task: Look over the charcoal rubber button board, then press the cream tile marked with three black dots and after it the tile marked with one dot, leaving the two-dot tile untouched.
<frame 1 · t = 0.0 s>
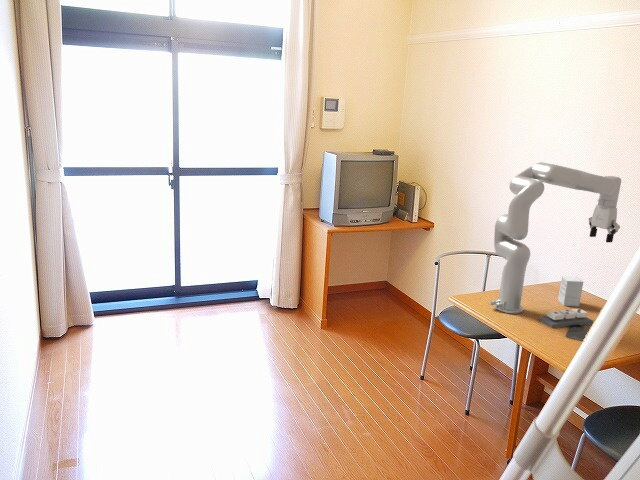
hand: (600, 239, 233), 31 cm above the table, tool pointing down, fingers open, 9 cm apart
tile three: (578, 312, 217), point 4 cm above the table, slide at 0.0 cm
tile two: (567, 313, 216), point 4 cm above the table, slide at 0.0 cm
button board: (565, 321, 217), on the table
supplement box: (568, 303, 238), on the table
smartphone: (577, 333, 207), on the table
tile one: (555, 314, 214), point 4 cm above the table, slide at 0.0 cm
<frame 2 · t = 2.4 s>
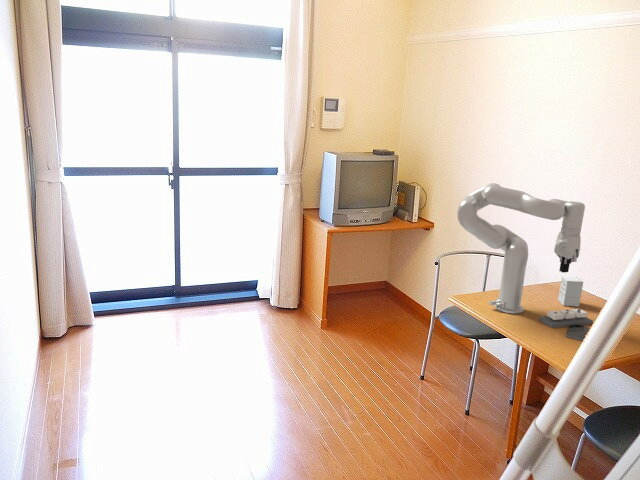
hand: (563, 271, 217), 21 cm above the table, tool pointing down, fingers closed
nothing on the table moved.
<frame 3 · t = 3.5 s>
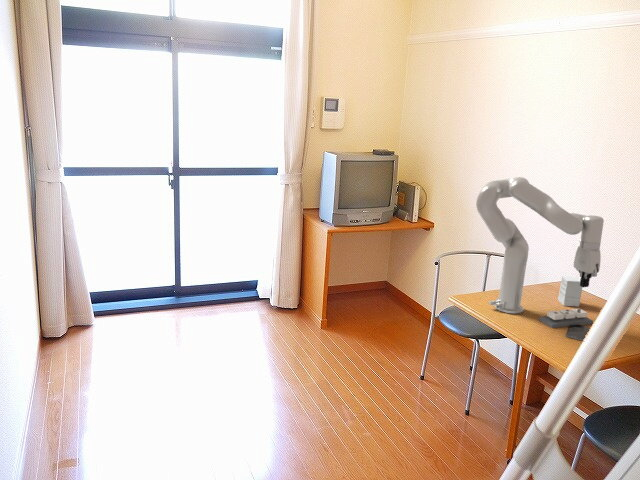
hand: (584, 286, 214), 16 cm above the table, tool pointing down, fingers closed
nothing on the table moved.
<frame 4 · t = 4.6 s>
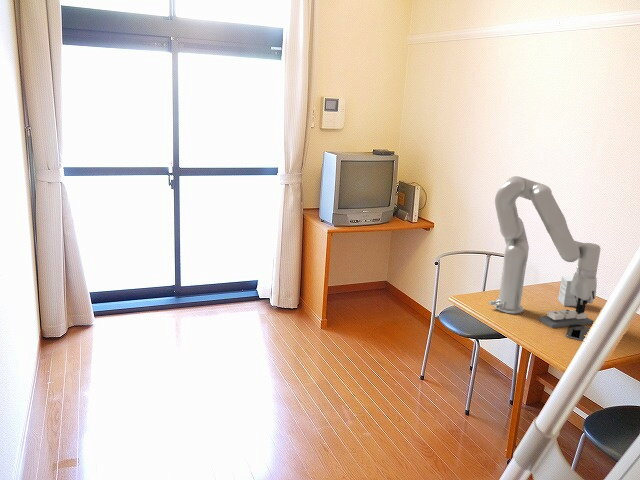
hand: (579, 312, 217), 4 cm above the table, tool pointing down, fingers closed
tile three: (578, 314, 217), point 3 cm above the table, slide at 0.7 cm
everything else where it was.
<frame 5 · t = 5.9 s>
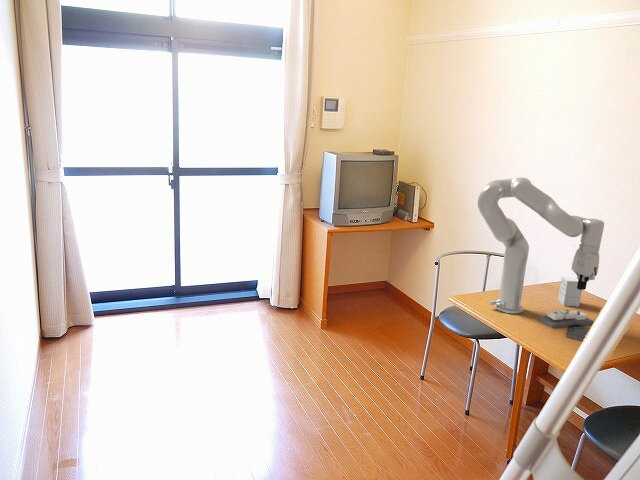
hand: (581, 289, 214), 15 cm above the table, tool pointing down, fingers closed
tile three: (578, 315, 217), point 3 cm above the table, slide at 1.1 cm
everything else where it was.
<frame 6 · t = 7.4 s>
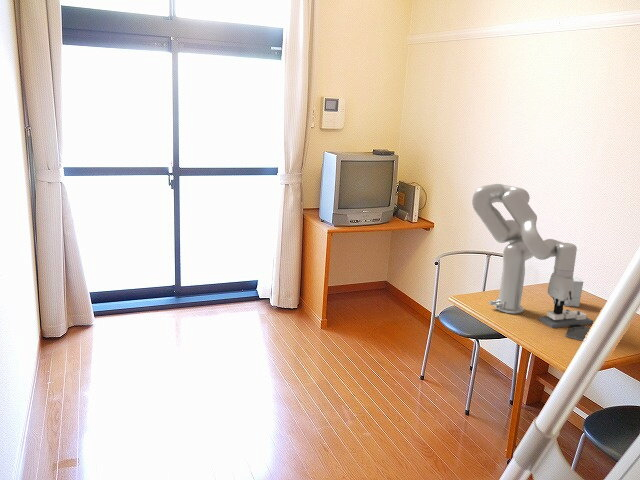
hand: (557, 313, 213), 5 cm above the table, tool pointing down, fingers closed
tile one: (555, 315, 214), point 4 cm above the table, slide at 0.1 cm, touching gripper
everything else where it was.
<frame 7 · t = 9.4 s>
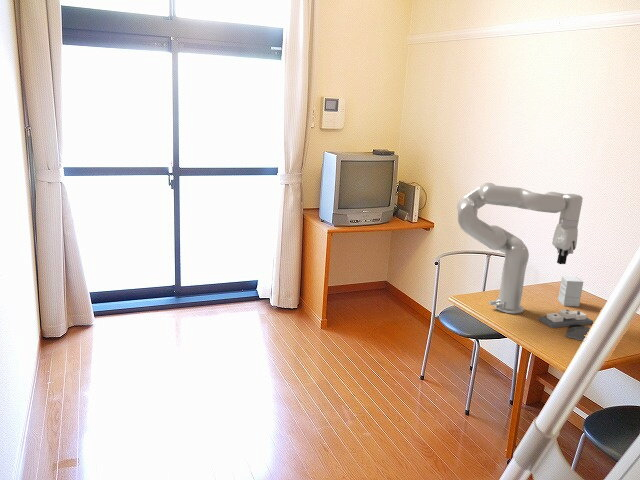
hand: (561, 263, 219), 24 cm above the table, tool pointing down, fingers closed
tile one: (555, 317, 214), point 3 cm above the table, slide at 1.1 cm
everything else where it was.
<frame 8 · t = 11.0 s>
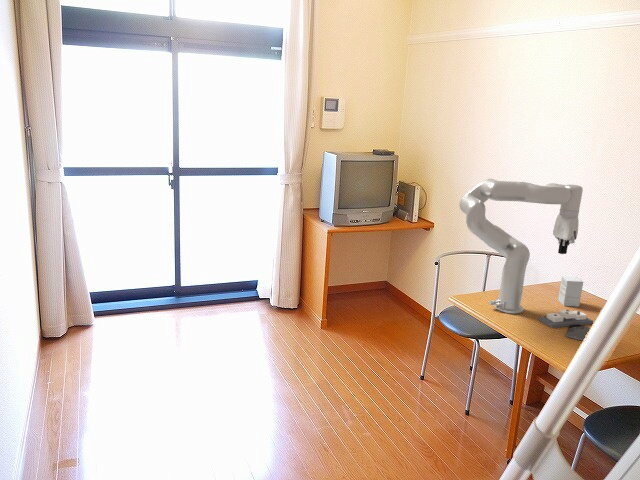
hand: (562, 253, 223), 27 cm above the table, tool pointing down, fingers closed
nothing on the table moved.
at the end: tile three slide at 1.1 cm; tile one slide at 1.1 cm; tile two slide at 0.0 cm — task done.
